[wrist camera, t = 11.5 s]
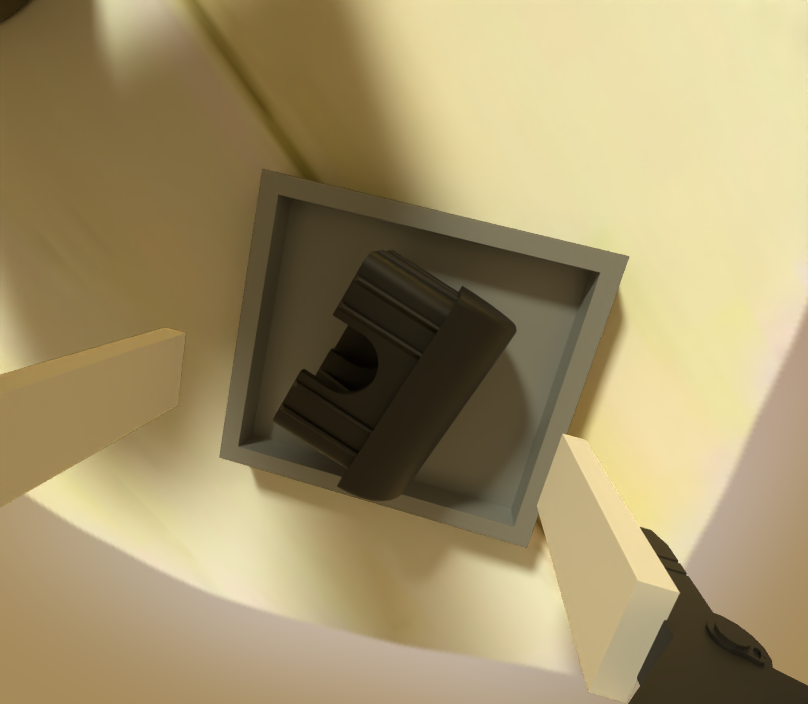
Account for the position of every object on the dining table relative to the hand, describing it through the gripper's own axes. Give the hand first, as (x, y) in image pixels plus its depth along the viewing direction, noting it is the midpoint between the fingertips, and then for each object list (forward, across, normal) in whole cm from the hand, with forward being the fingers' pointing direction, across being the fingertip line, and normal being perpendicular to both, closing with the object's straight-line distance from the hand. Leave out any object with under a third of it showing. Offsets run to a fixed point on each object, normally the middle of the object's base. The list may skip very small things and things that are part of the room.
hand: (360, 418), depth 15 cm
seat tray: (+11, 0, -1) cm, 11 cm away
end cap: (+10, 0, 0) cm, 10 cm away
